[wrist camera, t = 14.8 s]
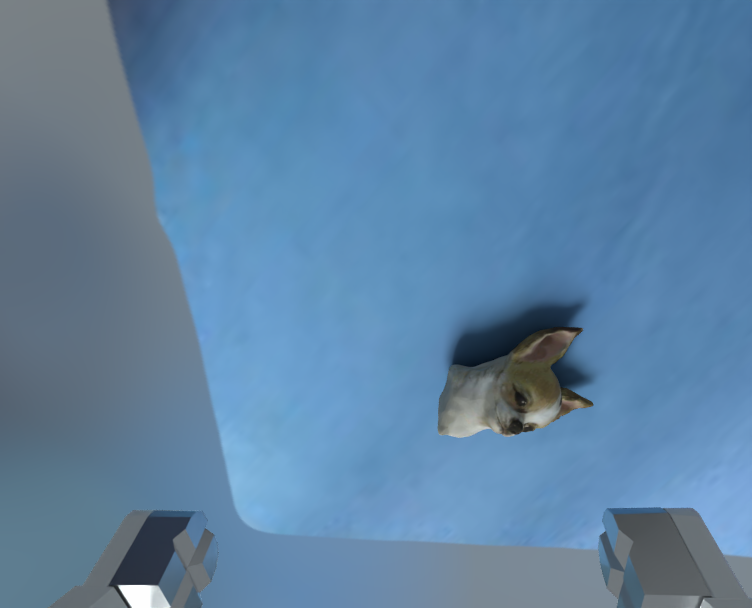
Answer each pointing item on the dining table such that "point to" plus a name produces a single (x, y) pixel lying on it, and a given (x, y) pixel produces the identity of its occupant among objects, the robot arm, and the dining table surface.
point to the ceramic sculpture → (510, 389)
